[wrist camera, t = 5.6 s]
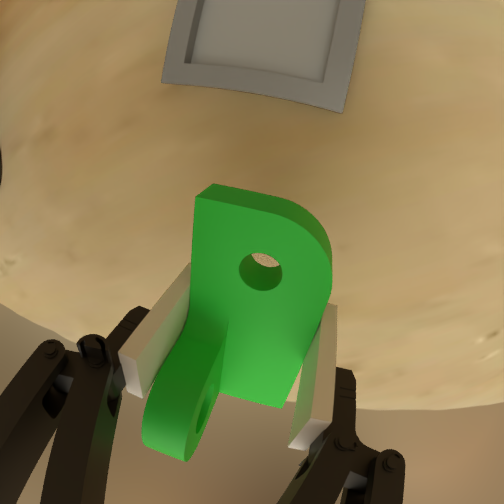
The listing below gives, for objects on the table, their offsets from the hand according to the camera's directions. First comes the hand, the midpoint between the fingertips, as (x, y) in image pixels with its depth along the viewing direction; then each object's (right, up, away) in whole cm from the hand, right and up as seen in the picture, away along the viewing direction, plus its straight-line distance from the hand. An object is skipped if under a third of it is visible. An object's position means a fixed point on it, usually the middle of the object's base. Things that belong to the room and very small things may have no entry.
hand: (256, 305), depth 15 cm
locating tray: (+2, +25, +3) cm, 25 cm away
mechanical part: (0, 0, +1) cm, 1 cm away
